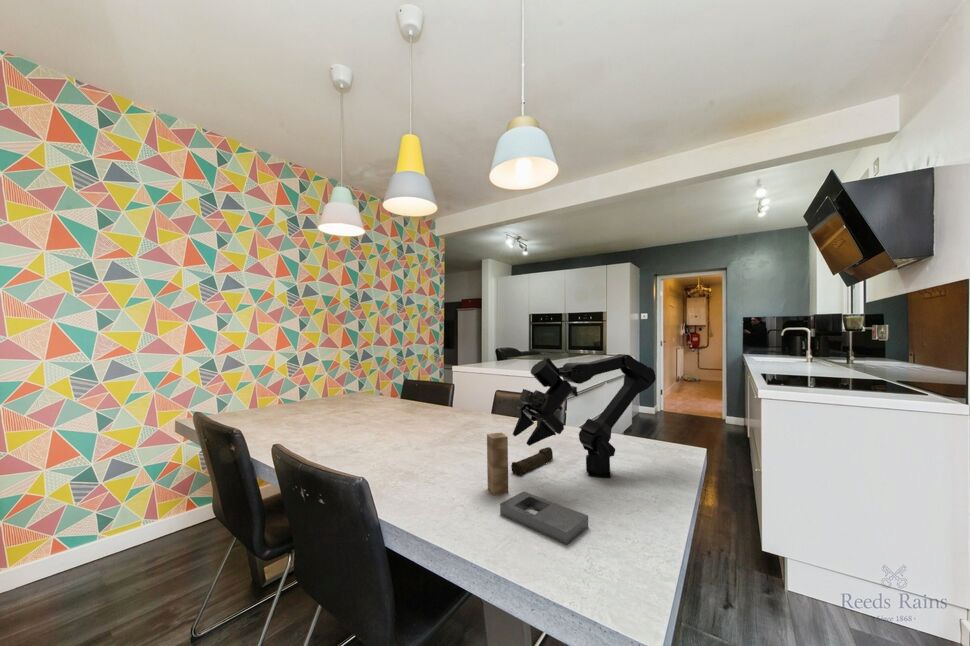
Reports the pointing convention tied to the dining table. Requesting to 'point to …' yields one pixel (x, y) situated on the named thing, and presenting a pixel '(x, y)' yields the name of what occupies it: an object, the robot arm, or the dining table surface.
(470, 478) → the dining table surface
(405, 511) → the dining table surface
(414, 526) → the dining table surface
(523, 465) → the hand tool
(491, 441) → the walnut post
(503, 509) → the grey slotted base plate
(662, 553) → the dining table surface
